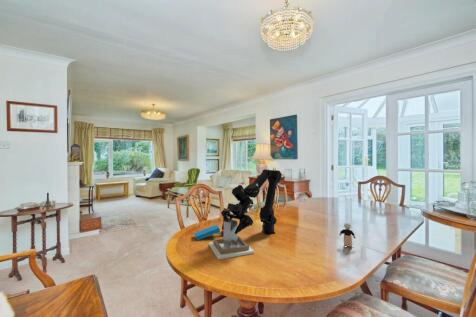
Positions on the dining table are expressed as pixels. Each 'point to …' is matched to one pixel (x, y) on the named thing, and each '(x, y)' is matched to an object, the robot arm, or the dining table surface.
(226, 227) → the brushed metal pillar
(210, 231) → the lever
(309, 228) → the dining table surface
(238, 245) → the stand
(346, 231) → the grandmother figurine
